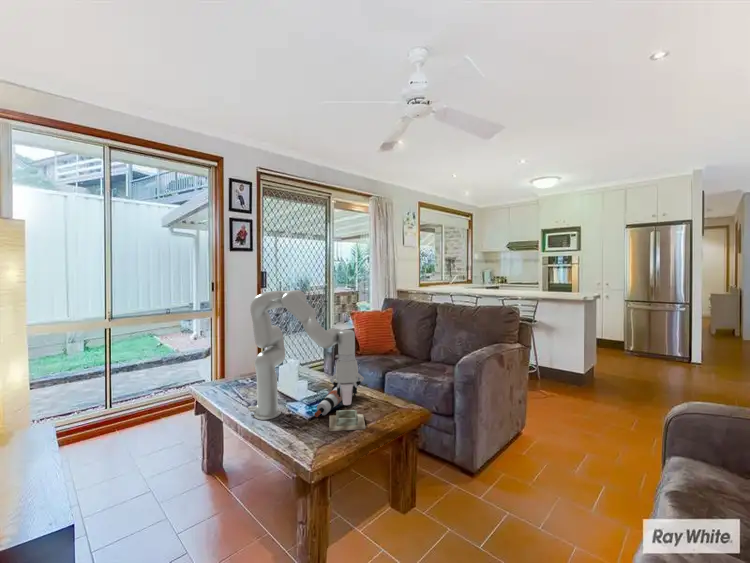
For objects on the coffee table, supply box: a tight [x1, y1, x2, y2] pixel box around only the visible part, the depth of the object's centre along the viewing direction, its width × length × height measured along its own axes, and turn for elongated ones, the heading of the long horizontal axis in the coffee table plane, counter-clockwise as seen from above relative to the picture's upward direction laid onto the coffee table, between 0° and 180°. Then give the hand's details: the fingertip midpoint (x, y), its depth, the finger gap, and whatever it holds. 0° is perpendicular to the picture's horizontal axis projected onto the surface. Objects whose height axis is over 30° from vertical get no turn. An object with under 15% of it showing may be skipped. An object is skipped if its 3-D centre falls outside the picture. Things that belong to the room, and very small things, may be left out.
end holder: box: [328, 409, 366, 432], centre depth 164 cm, size 16×13×4 cm
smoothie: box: [340, 383, 354, 406], centre depth 163 cm, size 6×6×14 cm
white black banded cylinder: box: [314, 385, 354, 418], centre depth 184 cm, size 10×34×10 cm, turn 157°
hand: (347, 395), depth 164 cm, fingers closed on smoothie, 6 cm apart
